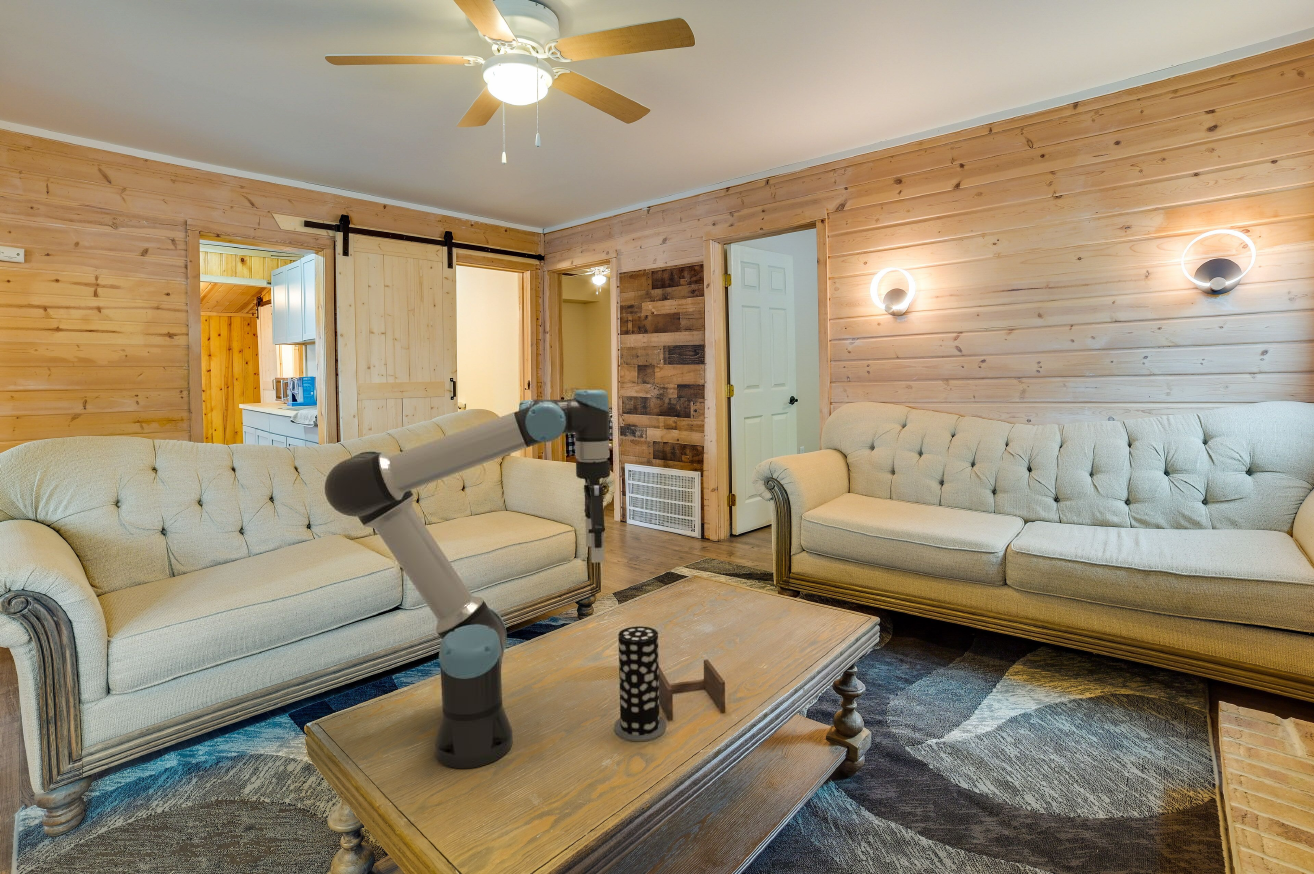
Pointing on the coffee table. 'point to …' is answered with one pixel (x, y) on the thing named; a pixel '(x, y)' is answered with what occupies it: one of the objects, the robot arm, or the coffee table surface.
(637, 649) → the spotted tube
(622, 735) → the coaster
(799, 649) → the coffee table surface
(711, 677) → the rack
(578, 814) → the coffee table surface
